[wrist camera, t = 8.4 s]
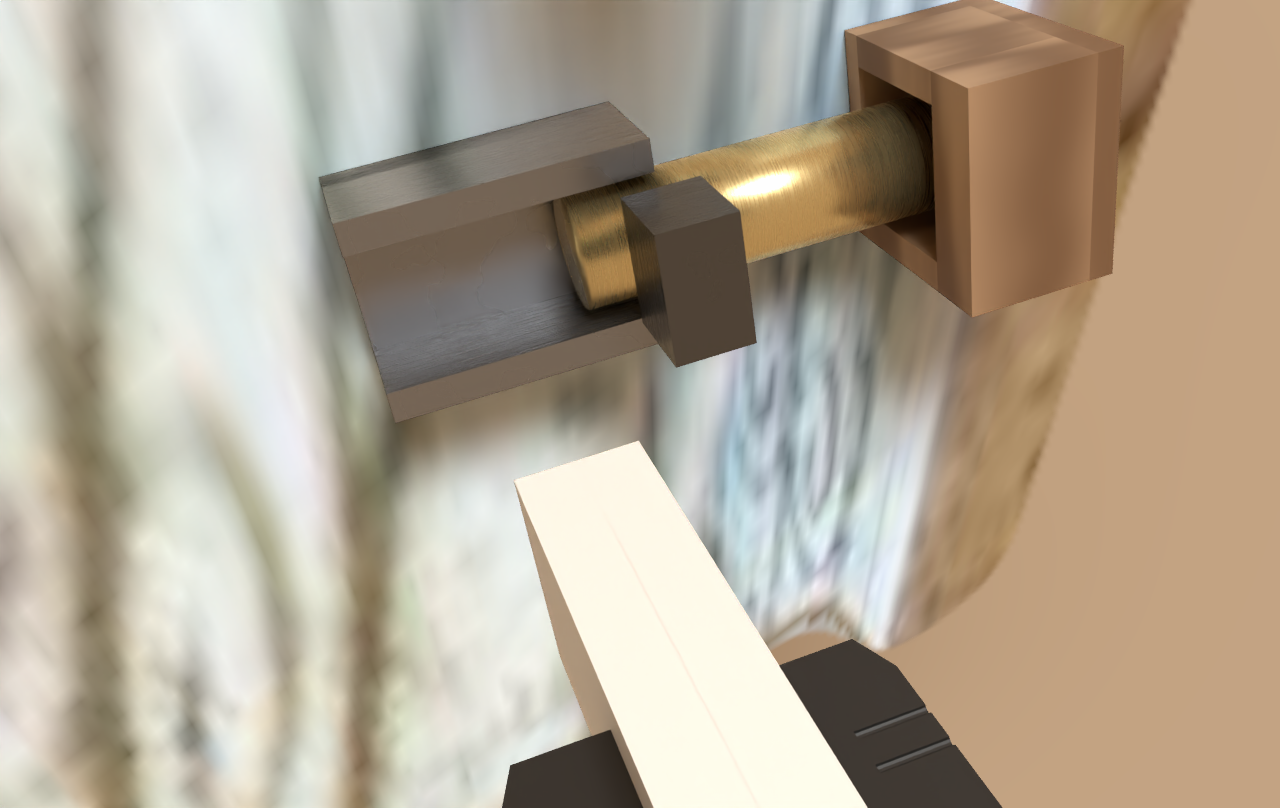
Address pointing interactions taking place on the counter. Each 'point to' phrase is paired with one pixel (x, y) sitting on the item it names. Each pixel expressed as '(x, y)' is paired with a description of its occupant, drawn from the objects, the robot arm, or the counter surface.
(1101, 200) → the socket
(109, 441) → the counter surface
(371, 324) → the open channel
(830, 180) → the brass bolt
